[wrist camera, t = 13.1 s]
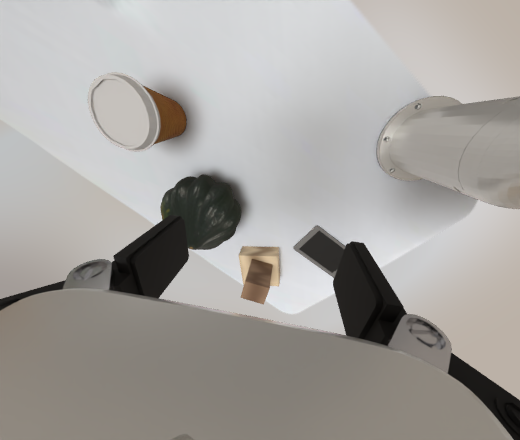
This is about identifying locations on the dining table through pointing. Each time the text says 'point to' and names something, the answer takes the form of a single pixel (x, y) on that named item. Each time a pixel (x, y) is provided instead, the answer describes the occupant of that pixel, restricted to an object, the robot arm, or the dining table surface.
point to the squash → (203, 210)
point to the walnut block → (257, 281)
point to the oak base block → (263, 255)
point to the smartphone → (321, 250)
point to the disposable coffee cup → (133, 112)
